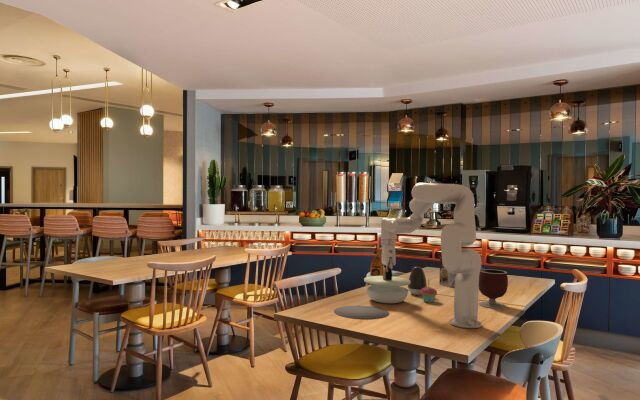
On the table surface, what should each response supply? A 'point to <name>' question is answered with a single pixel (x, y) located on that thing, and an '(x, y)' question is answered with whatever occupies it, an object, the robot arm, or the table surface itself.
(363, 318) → the mat
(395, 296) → the serving bowl
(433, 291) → the cupcake
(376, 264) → the coffee package
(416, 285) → the smart speaker
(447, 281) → the coffee box
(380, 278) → the lid
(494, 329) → the table surface
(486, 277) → the mate gourd
